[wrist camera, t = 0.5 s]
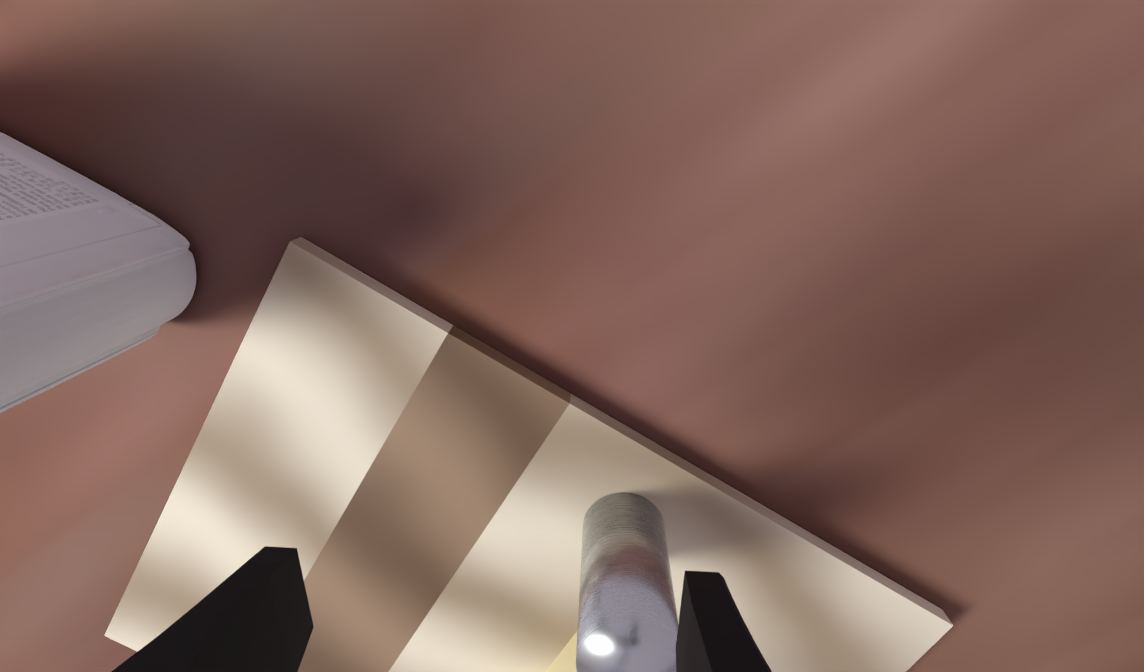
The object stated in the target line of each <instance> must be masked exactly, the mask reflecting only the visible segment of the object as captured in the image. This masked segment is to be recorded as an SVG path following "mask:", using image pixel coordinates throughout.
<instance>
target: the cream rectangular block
mask: <svg viewBox="0 0 1144 672" xmlns="http://www.w3.org/2000/svg"><path fill="white" fill-rule="evenodd" d="M576 649H577V632H576V633H575V634H574V636H573V637H572V638H571V640H570V641H569V642H568V643H567V645H566V646H565V647H564V648H563V650H562V651H561V652H560V654H559V655H558V656H557V657H556V659H555V660H554V661H553V663H552V664H551V665H550V666H549V668H548V669H547V670H546V671H545V672H577V669H576Z"/></svg>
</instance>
